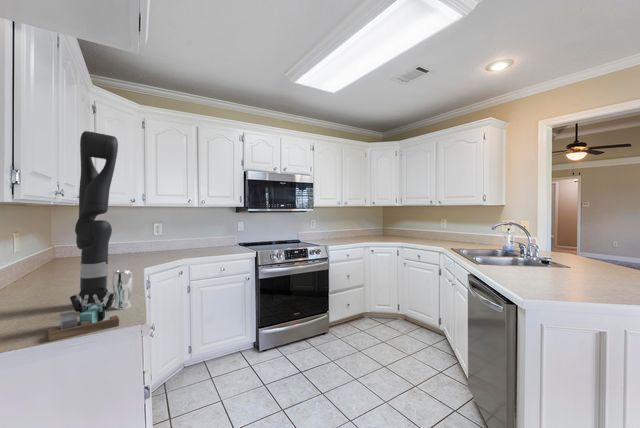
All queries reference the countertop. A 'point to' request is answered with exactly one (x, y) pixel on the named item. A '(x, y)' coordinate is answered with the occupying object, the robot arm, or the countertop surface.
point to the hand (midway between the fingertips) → (93, 321)
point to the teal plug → (90, 315)
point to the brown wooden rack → (82, 328)
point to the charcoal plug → (68, 320)
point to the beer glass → (122, 288)
